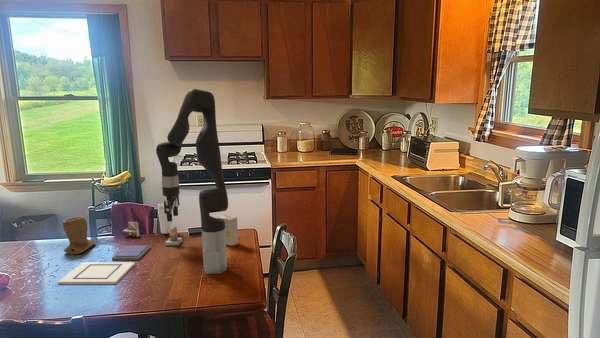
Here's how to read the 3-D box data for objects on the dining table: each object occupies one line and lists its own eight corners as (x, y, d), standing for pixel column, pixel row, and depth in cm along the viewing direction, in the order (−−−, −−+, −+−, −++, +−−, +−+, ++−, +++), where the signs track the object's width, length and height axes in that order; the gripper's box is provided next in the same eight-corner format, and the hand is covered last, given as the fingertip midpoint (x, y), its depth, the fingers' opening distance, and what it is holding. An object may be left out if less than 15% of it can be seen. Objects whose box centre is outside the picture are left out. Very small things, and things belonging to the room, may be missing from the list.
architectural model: (135, 238, 207) (134, 224, 205) (123, 237, 209) (121, 223, 207) (139, 236, 210) (138, 222, 209) (127, 235, 212) (126, 221, 210)
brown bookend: (74, 243, 200) (70, 213, 197) (99, 243, 200) (96, 213, 197) (56, 256, 185) (52, 223, 182) (83, 255, 185) (79, 223, 182)
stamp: (178, 246, 195) (177, 229, 194) (165, 246, 195) (164, 229, 194) (182, 241, 201) (181, 225, 200) (169, 241, 201) (168, 225, 200)
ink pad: (138, 260, 179) (138, 256, 179) (112, 260, 180) (111, 256, 179) (150, 248, 193) (150, 244, 193) (126, 248, 193) (125, 244, 193)
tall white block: (159, 235, 210) (156, 206, 207) (159, 231, 217) (157, 202, 214) (173, 233, 212) (171, 205, 209) (173, 229, 218) (171, 201, 216)
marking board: (115, 284, 157) (115, 281, 157) (57, 284, 158) (57, 281, 157) (135, 264, 175) (134, 261, 175) (83, 264, 175) (82, 261, 175)
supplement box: (238, 243, 198) (237, 217, 195) (232, 246, 194) (230, 219, 191) (225, 240, 202) (224, 214, 200) (218, 243, 198) (217, 217, 196)
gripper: (173, 188, 186) (176, 223, 189) (183, 181, 200) (185, 213, 203) (157, 188, 186) (159, 223, 190) (167, 181, 200) (169, 213, 203)
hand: (172, 218), depth 196 cm, fingers open, 8 cm apart
